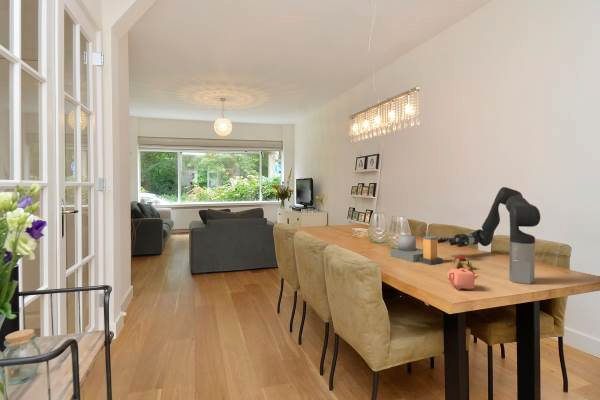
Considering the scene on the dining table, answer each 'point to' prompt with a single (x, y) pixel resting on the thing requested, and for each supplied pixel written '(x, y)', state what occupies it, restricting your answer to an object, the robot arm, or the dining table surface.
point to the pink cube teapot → (462, 278)
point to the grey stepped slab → (411, 251)
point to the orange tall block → (430, 247)
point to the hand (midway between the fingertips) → (444, 242)
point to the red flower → (463, 263)
